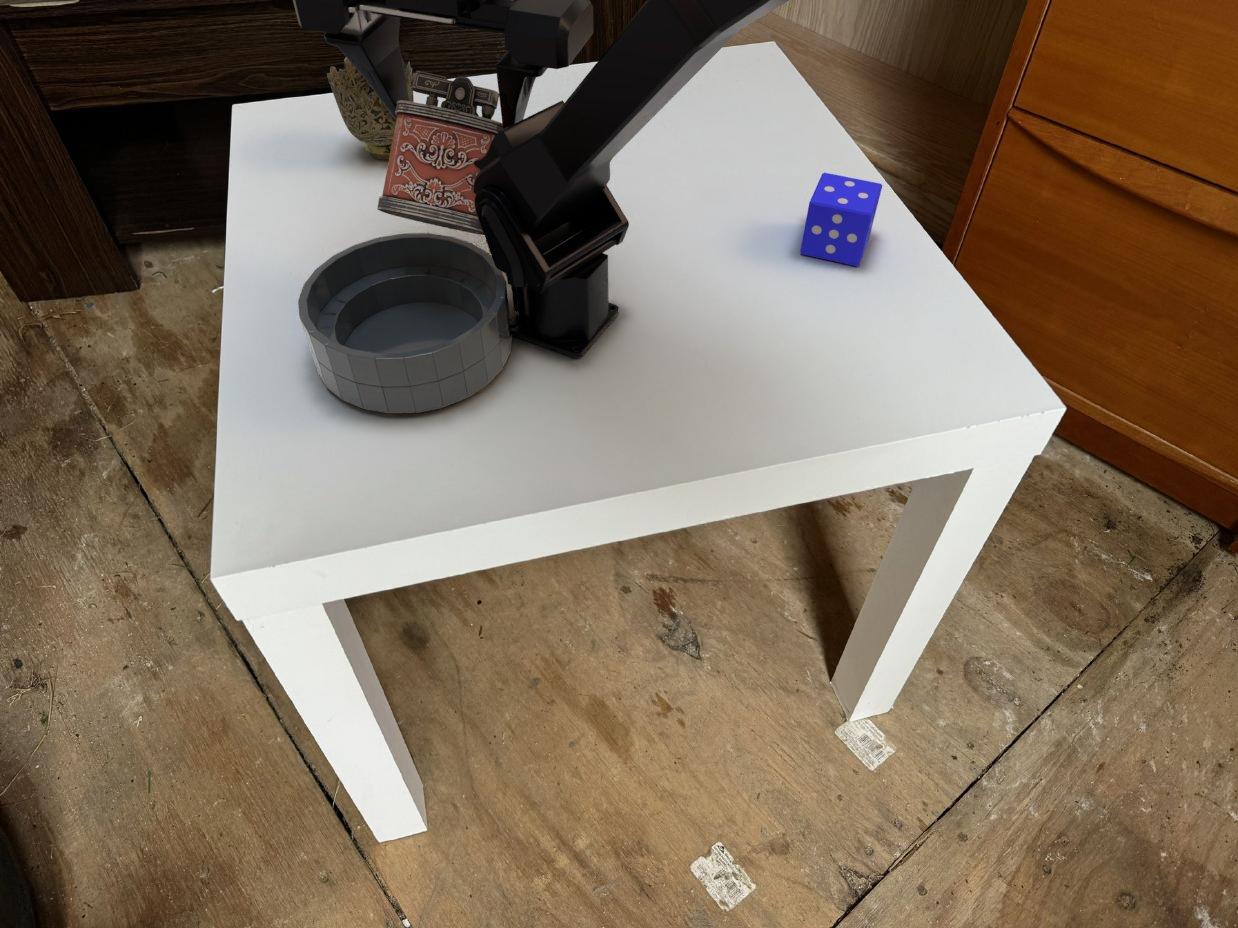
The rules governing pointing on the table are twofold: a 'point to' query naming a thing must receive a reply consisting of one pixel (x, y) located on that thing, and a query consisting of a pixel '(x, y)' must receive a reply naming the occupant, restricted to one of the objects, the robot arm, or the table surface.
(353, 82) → the cup
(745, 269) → the table surface
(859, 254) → the die
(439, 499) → the table surface
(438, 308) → the bowl
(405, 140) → the lighter
